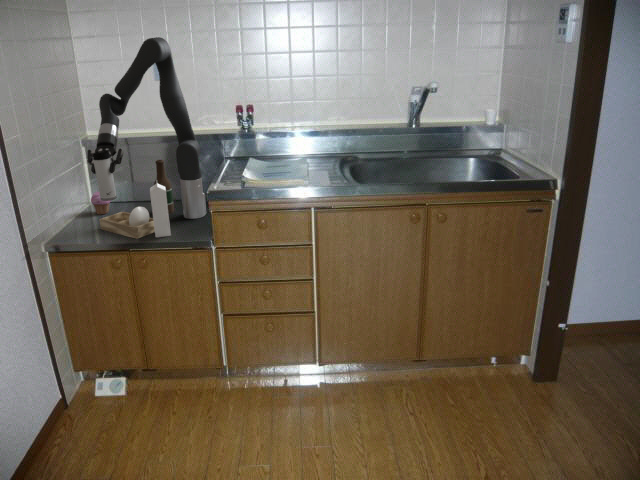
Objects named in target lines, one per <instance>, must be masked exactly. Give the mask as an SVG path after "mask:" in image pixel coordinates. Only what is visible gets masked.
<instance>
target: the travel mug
mask: <svg viewBox="0 0 640 480" xmlns="http://www.w3.org/2000/svg"><path fill="white" fill-rule="evenodd" d="M92 155H93V161H94V167H95V172H96V174H95V175H96V176H95V177H96V181H97V189H98V192H99V193H100V199H101V200H102V201H115V200H117V198H118V197H117V189H116V185H115V178H114V172H113V173H110V171H109V169H110V163H111V160H110V156H109V150H103V151H98V152H95V153H92Z"/></svg>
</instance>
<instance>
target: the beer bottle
mask: <svg viewBox="0 0 640 480" xmlns="http://www.w3.org/2000/svg"><path fill="white" fill-rule="evenodd" d="M164 163H165V160H163V159H157V160H155V166H156V168H155V169H156V179H155V180H154V183H153V186H154V185H155V184H157V183H158V184H160V185H162V186H165V188H166V197H167V205H168V214H169V215H171V214H173V213H175V204H174V194H173V188H172V183H171V181H170V180H169V179H168V177H167V174H166V170H165V164H164Z"/></svg>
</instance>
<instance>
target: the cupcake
mask: <svg viewBox="0 0 640 480" xmlns="http://www.w3.org/2000/svg"><path fill="white" fill-rule="evenodd" d="M111 201H112V200H111ZM111 201H102V200H101V199H100V193H99V191H96V192H94V193H93V194H92V196H91V198H90V203H91V205H93V207H94V209H95V213H96V214H97V215H106V214H108V213H109V211H110V203H111Z"/></svg>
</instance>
